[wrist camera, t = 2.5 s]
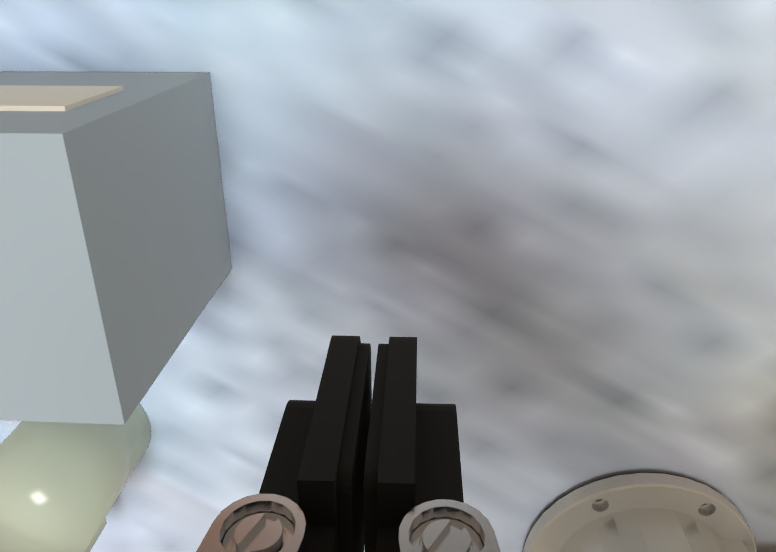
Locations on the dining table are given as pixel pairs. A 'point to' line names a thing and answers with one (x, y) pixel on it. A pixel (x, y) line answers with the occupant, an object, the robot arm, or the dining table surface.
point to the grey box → (103, 236)
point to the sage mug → (65, 481)
